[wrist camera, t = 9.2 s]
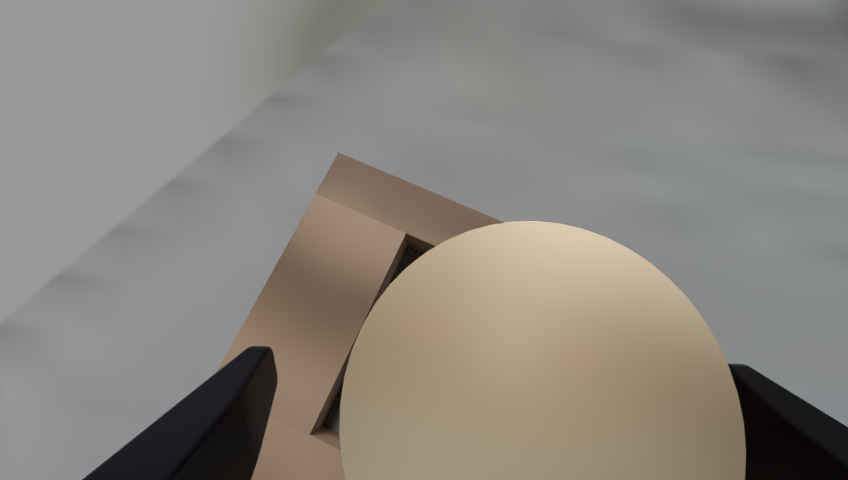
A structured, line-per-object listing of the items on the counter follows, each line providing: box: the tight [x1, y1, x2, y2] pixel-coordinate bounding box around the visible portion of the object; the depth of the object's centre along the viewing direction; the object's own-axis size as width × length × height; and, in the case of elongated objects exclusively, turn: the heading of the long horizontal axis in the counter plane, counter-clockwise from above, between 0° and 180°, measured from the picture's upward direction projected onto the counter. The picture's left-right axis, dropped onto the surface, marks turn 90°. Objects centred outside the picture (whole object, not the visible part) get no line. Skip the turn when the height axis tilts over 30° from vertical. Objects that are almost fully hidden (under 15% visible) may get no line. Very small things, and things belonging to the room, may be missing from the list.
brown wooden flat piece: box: [217, 153, 504, 480], centre depth 16 cm, size 20×12×2 cm, turn 156°
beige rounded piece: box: [339, 221, 746, 480], centre depth 11 cm, size 5×5×12 cm
